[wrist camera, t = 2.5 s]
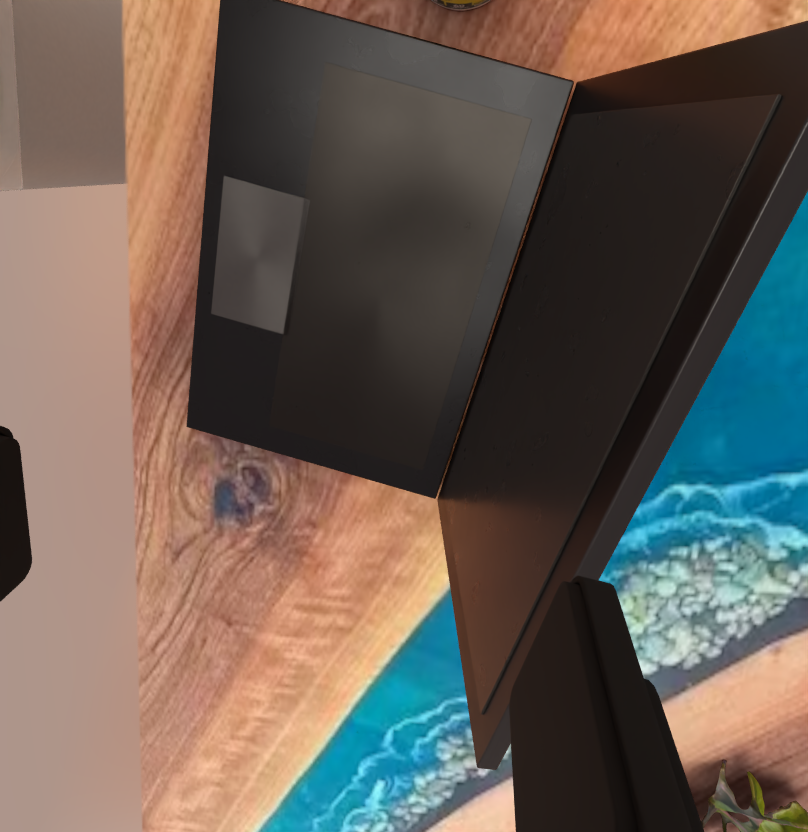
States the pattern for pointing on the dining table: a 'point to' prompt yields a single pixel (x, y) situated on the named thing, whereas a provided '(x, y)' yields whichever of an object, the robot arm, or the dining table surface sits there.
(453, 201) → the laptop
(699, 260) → the laptop screen
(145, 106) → the dining table surface
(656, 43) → the dining table surface
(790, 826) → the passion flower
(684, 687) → the dining table surface
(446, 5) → the supplement bottle
